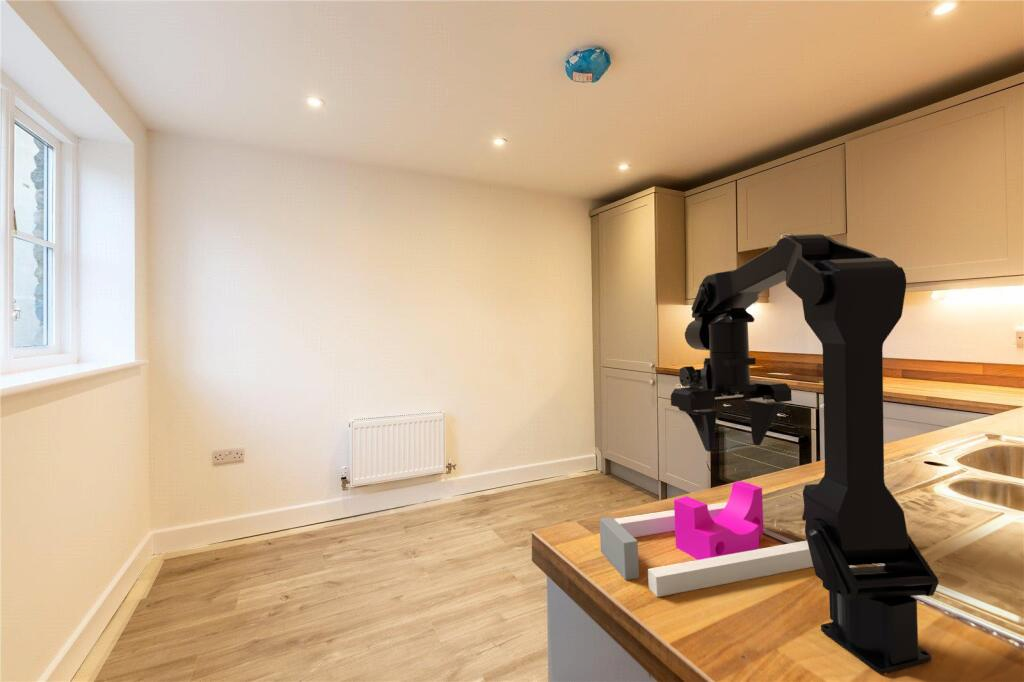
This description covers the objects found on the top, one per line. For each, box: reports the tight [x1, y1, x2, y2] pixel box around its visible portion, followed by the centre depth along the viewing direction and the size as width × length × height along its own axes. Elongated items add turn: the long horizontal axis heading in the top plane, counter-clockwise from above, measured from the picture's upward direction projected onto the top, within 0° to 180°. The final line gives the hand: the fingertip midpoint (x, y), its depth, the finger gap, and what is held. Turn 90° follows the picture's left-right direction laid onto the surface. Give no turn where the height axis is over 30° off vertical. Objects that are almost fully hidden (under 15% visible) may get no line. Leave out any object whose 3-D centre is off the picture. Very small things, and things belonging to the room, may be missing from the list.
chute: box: [598, 501, 814, 598], centre depth 65 cm, size 17×28×5 cm, turn 102°
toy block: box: [673, 480, 764, 560], centre depth 67 cm, size 15×6×8 cm, turn 116°
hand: (733, 447), depth 71 cm, fingers open, 9 cm apart
